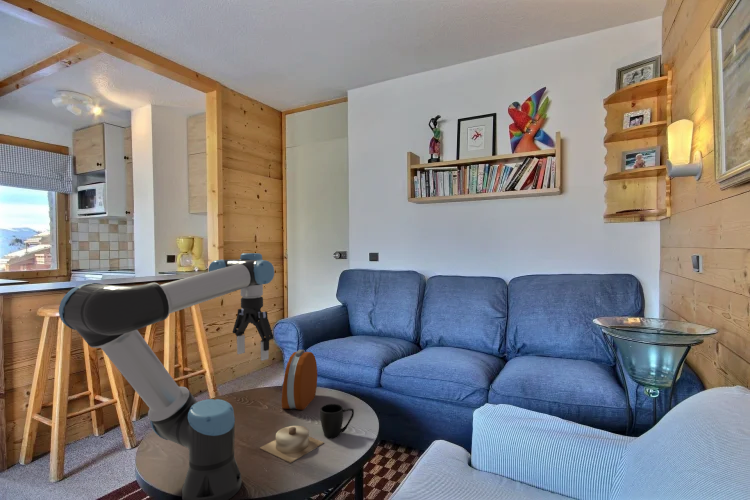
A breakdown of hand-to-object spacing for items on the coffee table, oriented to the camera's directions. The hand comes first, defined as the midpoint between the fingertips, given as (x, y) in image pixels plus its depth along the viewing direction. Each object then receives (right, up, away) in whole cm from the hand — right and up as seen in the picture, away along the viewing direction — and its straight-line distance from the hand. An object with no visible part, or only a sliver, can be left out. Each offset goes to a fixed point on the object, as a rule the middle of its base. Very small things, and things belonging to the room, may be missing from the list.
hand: (252, 356), depth 136 cm
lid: (+15, -28, -6) cm, 33 cm away
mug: (+30, -29, +2) cm, 41 cm away
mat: (+15, -29, -6) cm, 33 cm away
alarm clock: (+10, -29, +31) cm, 44 cm away
